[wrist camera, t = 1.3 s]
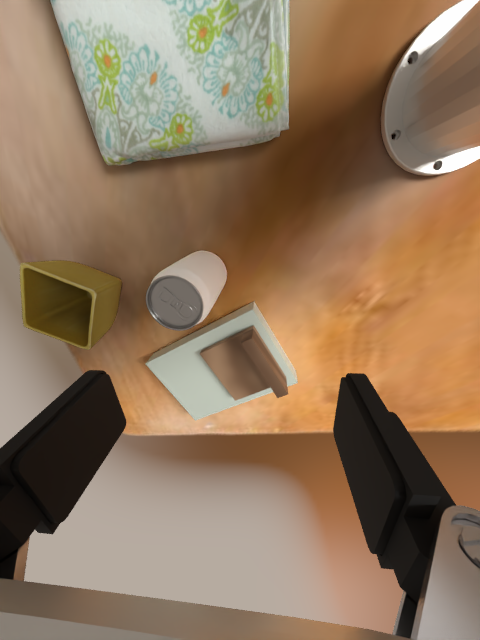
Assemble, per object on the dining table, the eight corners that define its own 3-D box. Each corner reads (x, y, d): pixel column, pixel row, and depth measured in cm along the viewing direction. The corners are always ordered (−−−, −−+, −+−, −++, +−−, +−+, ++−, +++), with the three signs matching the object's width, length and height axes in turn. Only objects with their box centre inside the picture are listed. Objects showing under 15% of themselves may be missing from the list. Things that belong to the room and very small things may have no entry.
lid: (253, 325, 31) (252, 338, 28) (286, 377, 35) (288, 394, 31) (201, 350, 34) (194, 364, 31) (236, 396, 37) (233, 413, 34)
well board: (254, 301, 33) (252, 309, 31) (295, 370, 38) (297, 382, 35) (153, 353, 40) (145, 363, 37) (199, 407, 44) (195, 420, 41)
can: (210, 303, 34) (185, 345, 24) (174, 276, 33) (130, 308, 22) (236, 270, 32) (221, 300, 21) (198, 239, 31) (161, 255, 20)
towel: (291, 142, 25) (296, 127, 21) (116, 169, 28) (87, 161, 24) (288, -147, 18) (296, -272, 13) (49, -68, 21) (-13, -146, 16)
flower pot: (78, 248, 33) (17, 261, 25) (136, 272, 34) (95, 291, 25) (75, 301, 37) (22, 326, 29) (127, 321, 37) (89, 351, 29)
